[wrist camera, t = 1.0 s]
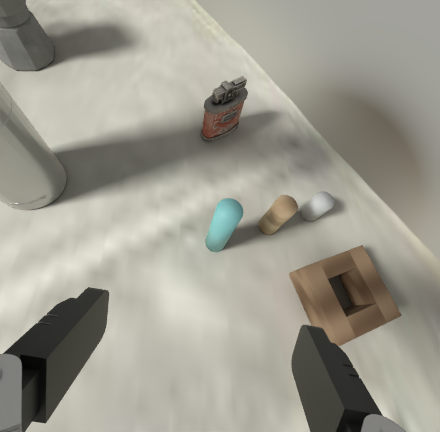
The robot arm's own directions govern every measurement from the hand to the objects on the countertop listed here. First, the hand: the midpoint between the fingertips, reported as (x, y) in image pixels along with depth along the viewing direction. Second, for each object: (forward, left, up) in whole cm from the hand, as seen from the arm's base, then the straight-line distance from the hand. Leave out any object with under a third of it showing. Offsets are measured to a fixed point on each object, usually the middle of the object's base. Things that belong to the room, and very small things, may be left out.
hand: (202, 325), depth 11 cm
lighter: (-29, +15, -26) cm, 42 cm away
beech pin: (-9, +16, -26) cm, 32 cm away
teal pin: (-9, +7, -26) cm, 28 cm away
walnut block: (+4, +21, -26) cm, 34 cm away
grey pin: (-9, +24, -26) cm, 37 cm away
